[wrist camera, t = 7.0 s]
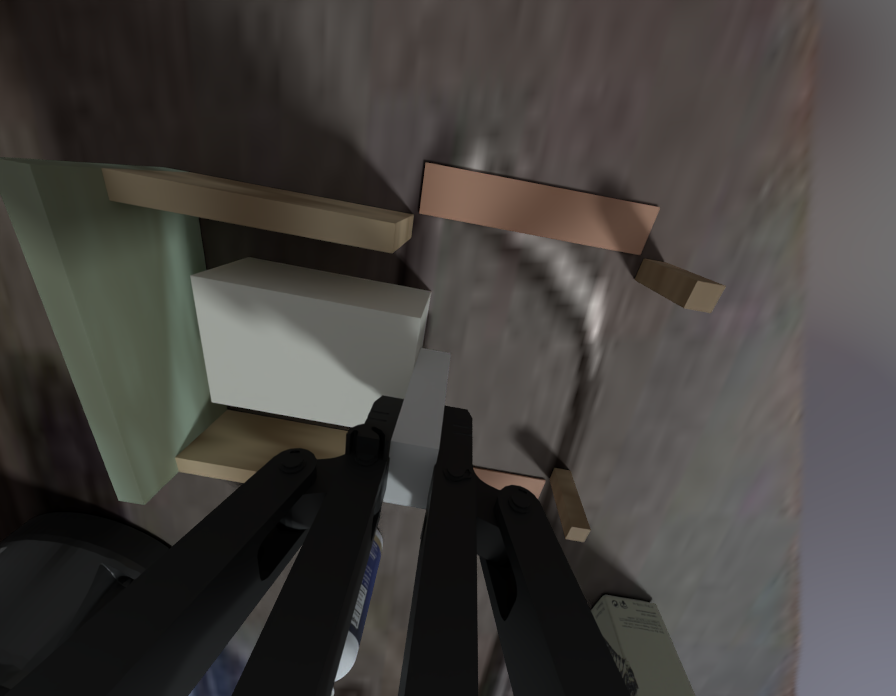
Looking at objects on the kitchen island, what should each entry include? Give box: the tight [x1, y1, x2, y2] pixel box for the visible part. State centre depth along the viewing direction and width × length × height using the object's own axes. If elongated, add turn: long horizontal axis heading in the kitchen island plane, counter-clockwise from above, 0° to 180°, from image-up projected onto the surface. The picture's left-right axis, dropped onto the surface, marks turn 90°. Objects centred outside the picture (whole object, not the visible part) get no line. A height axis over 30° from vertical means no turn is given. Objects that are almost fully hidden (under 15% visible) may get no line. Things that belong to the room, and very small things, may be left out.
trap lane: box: [0, 157, 726, 542], centre depth 15 cm, size 23×18×6 cm
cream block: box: [190, 257, 431, 427], centre depth 16 cm, size 9×6×4 cm, turn 80°
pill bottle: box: [331, 529, 383, 696], centre depth 21 cm, size 5×5×10 cm
